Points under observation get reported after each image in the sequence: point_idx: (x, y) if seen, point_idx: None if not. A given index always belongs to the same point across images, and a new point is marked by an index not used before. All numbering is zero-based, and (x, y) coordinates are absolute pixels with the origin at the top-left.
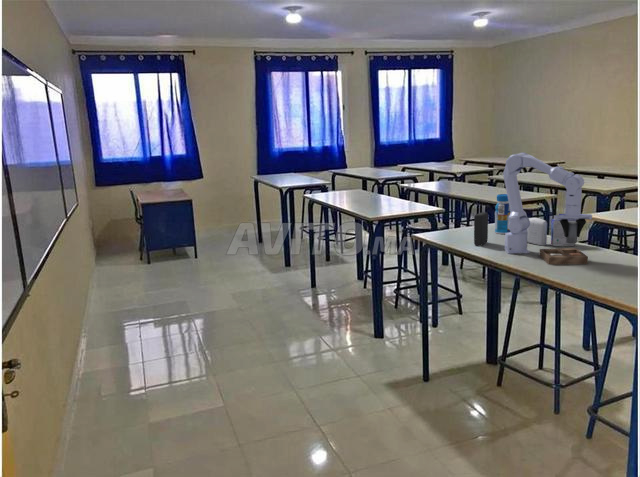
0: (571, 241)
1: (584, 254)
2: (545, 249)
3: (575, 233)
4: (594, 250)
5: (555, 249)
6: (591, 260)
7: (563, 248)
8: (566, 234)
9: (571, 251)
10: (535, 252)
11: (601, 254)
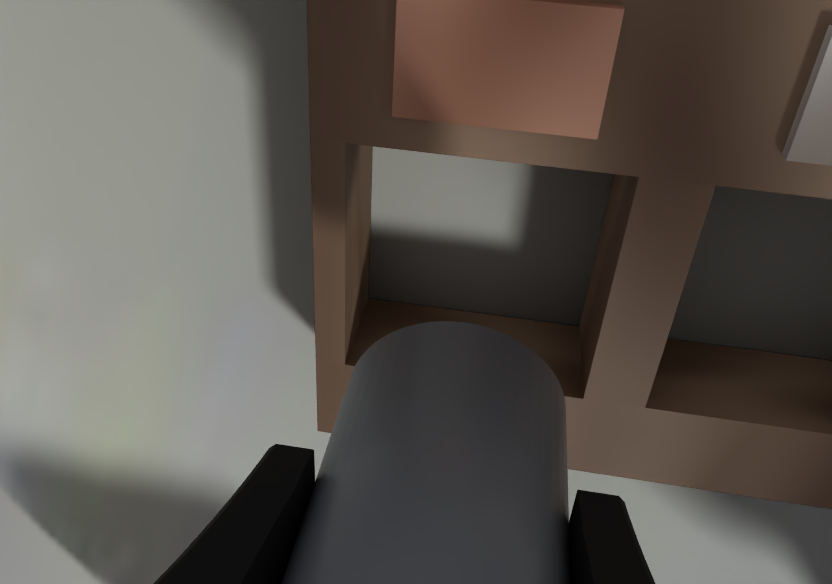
0: (500, 362)
1: (316, 36)
2: (821, 477)
3: (366, 525)
4: (79, 461)
5: (660, 442)
6: (213, 49)
7: None
8: (635, 560)
9: None
10: (791, 555)
11: (24, 310)
